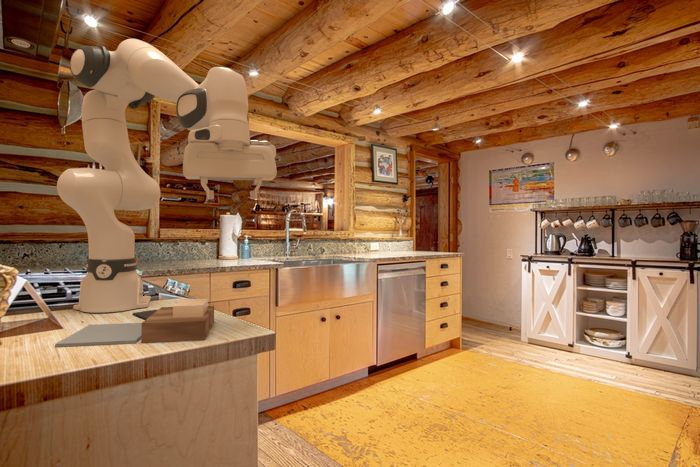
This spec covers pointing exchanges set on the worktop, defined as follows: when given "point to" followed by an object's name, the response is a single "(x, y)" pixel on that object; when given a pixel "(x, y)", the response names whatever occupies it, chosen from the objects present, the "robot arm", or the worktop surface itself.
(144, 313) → the smartphone
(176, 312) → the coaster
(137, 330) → the mat
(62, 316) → the worktop surface
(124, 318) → the worktop surface
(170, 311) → the brown flat wooden block
